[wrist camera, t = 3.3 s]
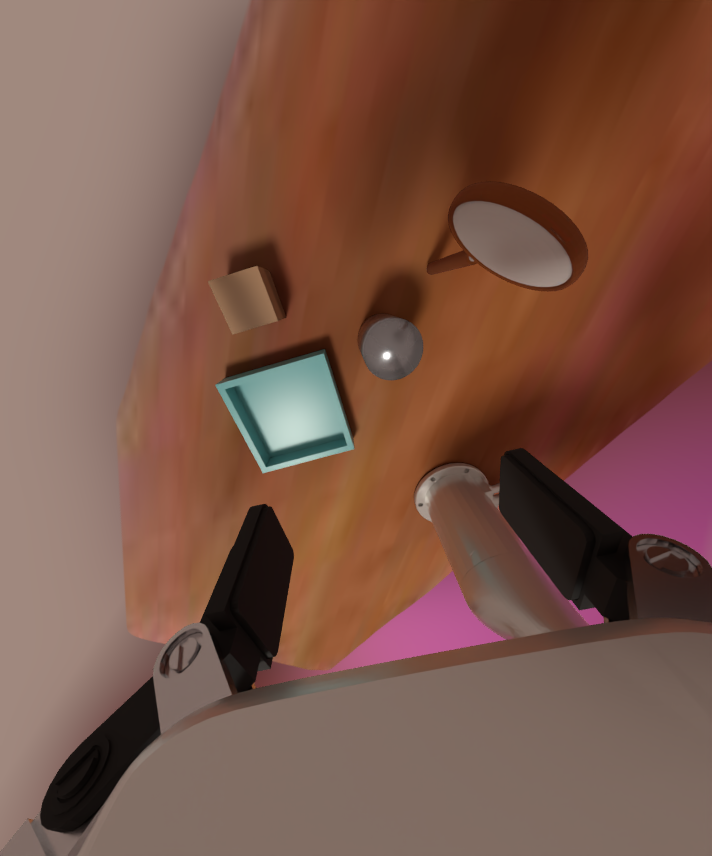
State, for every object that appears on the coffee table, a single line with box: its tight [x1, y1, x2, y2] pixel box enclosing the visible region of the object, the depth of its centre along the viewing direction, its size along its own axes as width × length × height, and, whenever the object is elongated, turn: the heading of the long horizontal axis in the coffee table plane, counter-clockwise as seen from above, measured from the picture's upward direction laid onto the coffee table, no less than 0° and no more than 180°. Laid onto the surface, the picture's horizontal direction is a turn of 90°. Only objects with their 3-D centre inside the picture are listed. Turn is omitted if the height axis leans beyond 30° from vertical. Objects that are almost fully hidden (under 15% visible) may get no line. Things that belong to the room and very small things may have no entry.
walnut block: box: [208, 266, 286, 335], centre depth 28 cm, size 5×5×5 cm
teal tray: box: [216, 349, 354, 473], centre depth 35 cm, size 14×14×3 cm
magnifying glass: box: [427, 182, 588, 291], centre depth 21 cm, size 9×2×20 cm, turn 58°
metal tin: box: [358, 313, 423, 380], centre depth 29 cm, size 6×6×8 cm
